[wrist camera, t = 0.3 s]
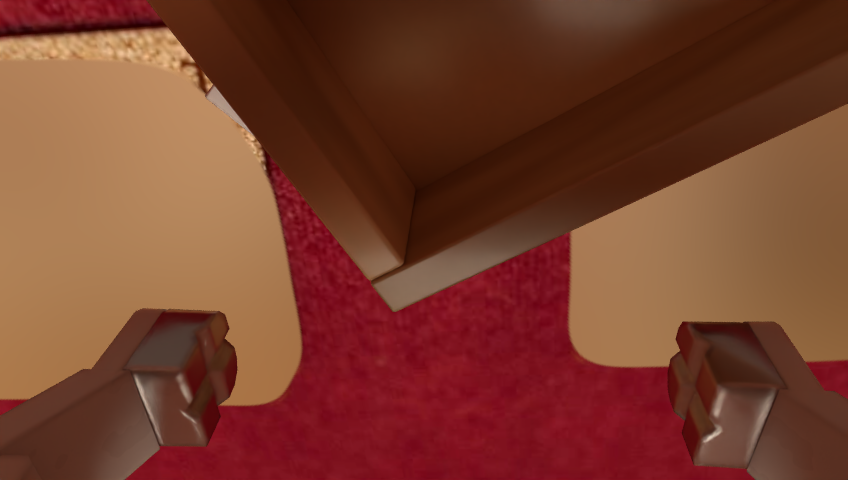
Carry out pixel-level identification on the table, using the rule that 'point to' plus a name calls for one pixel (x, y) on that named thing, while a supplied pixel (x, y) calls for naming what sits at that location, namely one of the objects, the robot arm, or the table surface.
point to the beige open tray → (504, 110)
